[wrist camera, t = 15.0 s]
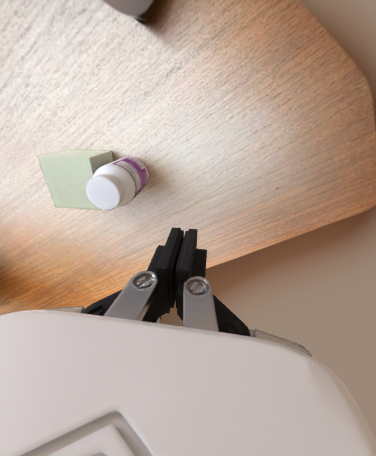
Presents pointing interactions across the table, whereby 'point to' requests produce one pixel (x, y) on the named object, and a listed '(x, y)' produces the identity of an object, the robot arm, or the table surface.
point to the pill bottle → (117, 183)
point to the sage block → (72, 175)
